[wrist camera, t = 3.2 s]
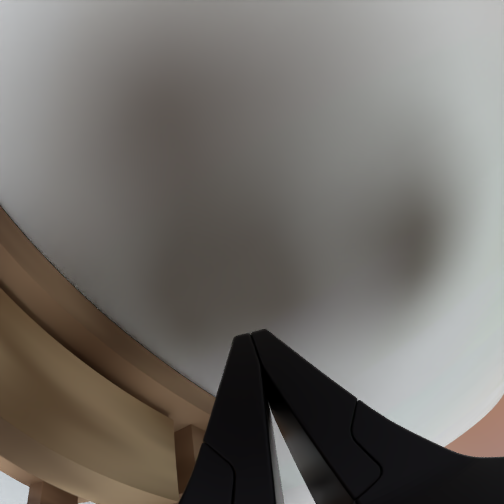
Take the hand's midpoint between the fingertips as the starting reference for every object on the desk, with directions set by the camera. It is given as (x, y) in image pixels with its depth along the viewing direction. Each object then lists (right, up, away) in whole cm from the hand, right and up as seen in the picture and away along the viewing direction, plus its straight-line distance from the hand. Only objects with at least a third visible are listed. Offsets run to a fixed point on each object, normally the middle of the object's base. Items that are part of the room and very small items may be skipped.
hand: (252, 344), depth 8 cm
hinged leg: (-8, 0, -1) cm, 8 cm away
